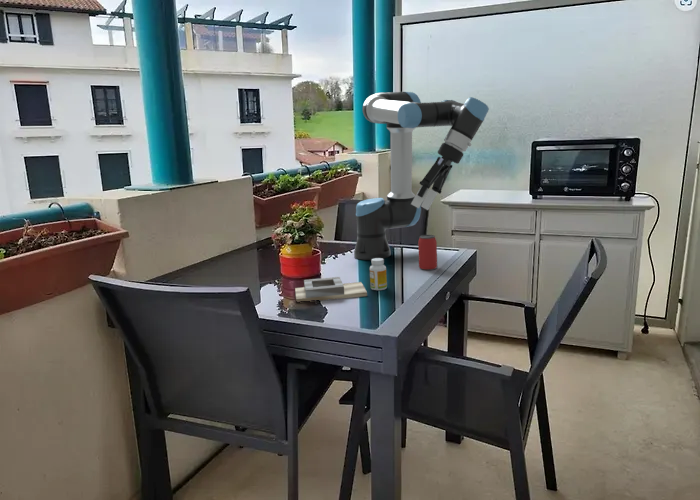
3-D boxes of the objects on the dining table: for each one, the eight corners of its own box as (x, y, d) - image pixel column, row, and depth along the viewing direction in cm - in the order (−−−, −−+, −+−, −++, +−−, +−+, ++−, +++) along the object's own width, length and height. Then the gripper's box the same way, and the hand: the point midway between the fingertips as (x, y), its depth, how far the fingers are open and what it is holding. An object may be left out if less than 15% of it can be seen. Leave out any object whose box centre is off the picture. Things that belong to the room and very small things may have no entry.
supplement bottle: (388, 286, 167) (387, 257, 165) (384, 291, 162) (383, 261, 160) (373, 285, 169) (371, 257, 167) (368, 290, 164) (367, 261, 162)
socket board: (295, 291, 167) (294, 280, 166) (361, 285, 170) (360, 274, 169) (296, 302, 155) (295, 291, 155) (367, 295, 158) (366, 284, 157)
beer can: (436, 270, 182) (436, 237, 180) (418, 270, 184) (417, 238, 181) (437, 265, 189) (436, 234, 186) (419, 266, 190) (418, 234, 188)
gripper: (458, 146, 145) (421, 211, 149) (469, 158, 168) (437, 214, 172) (435, 134, 147) (399, 199, 151) (450, 148, 170) (418, 203, 174)
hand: (419, 207), depth 162 cm, fingers open, 13 cm apart
